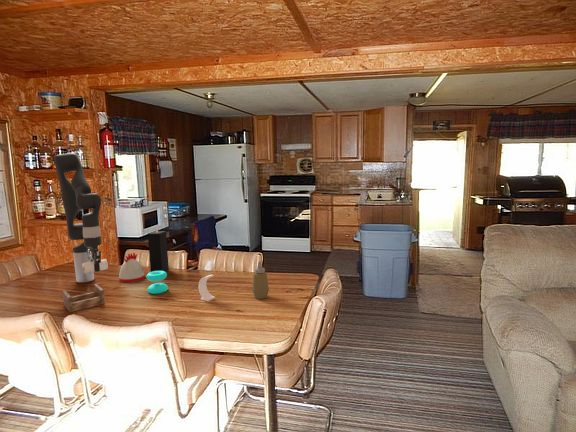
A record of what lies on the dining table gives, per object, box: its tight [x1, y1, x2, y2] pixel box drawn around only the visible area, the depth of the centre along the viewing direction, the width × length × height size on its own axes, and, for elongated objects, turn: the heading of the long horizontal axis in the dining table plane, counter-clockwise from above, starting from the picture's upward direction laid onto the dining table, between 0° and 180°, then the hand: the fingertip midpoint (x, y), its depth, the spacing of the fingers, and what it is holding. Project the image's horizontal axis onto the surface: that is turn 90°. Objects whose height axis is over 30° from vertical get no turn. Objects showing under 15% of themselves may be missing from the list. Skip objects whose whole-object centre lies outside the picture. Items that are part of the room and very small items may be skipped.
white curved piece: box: [197, 274, 216, 302], centre depth 181 cm, size 5×6×12 cm
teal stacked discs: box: [145, 271, 169, 295], centre depth 194 cm, size 10×10×10 cm
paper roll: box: [82, 258, 109, 273], centre depth 180 cm, size 11×5×5 cm, turn 133°
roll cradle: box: [62, 283, 105, 313], centre depth 178 cm, size 15×12×7 cm
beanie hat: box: [118, 252, 146, 283], centre depth 217 cm, size 14×14×15 cm
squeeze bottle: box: [252, 260, 270, 300], centre depth 181 cm, size 8×8×18 cm
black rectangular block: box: [147, 226, 170, 273], centre depth 228 cm, size 8×8×28 cm
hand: (95, 270), depth 181 cm, fingers closed on paper roll, 5 cm apart
